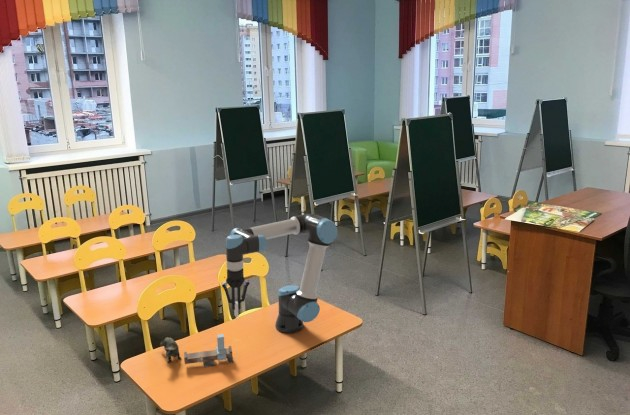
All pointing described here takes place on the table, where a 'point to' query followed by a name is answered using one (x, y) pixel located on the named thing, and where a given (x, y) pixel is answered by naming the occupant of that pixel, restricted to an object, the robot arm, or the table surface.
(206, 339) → the table surface
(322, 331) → the table surface
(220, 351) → the rider
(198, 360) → the beam
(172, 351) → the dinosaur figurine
